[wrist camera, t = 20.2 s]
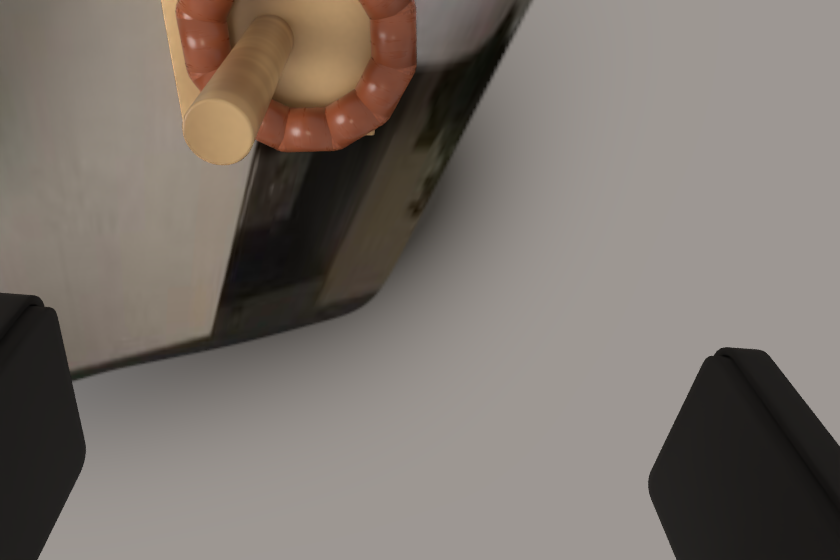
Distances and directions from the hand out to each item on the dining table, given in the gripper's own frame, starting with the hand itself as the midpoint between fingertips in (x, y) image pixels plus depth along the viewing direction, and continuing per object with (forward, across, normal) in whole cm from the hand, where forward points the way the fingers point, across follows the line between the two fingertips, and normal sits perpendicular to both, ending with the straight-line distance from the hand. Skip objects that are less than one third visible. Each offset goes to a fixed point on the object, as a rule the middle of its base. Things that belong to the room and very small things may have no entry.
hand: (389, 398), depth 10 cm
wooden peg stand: (+24, +5, +1) cm, 25 cm away
